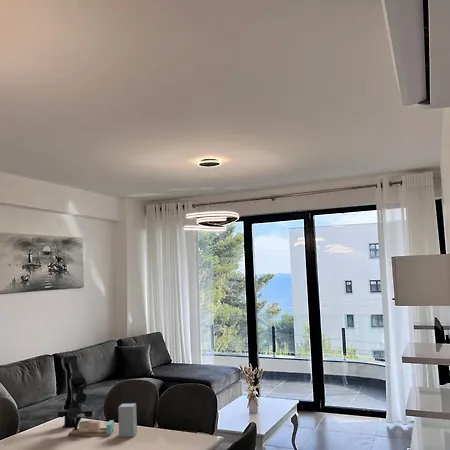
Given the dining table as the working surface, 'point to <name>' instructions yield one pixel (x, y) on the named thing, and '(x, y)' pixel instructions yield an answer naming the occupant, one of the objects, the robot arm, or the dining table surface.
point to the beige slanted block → (84, 426)
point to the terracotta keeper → (94, 426)
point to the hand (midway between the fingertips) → (75, 429)
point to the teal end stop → (110, 426)
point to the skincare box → (127, 420)
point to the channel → (88, 433)
